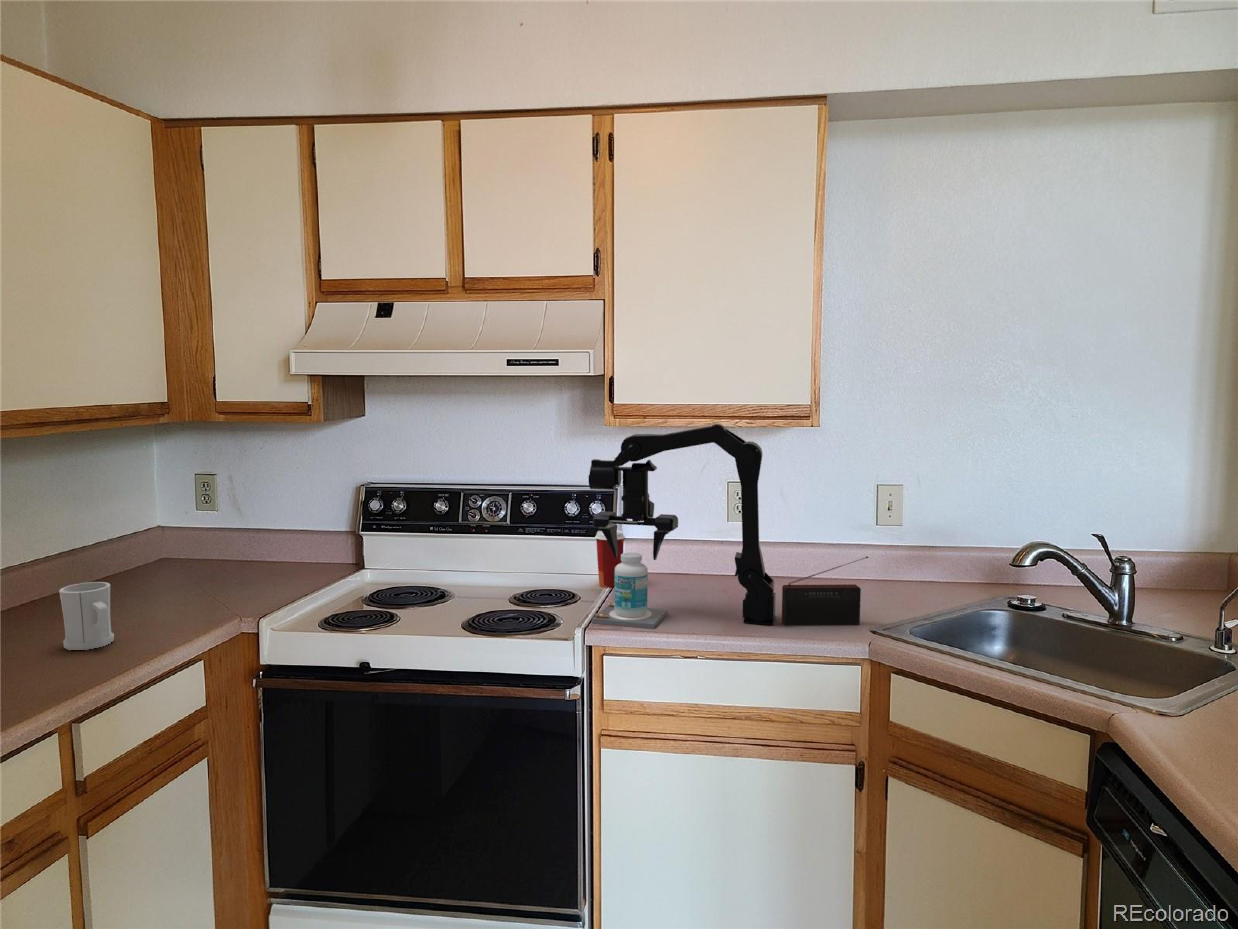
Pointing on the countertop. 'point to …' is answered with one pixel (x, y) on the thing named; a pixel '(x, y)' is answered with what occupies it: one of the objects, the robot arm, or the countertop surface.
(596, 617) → the plate
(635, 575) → the pill bottle
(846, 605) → the radio
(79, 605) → the cup
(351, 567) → the countertop surface
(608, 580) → the paper cup
